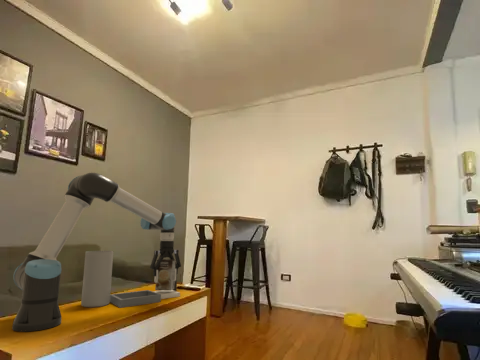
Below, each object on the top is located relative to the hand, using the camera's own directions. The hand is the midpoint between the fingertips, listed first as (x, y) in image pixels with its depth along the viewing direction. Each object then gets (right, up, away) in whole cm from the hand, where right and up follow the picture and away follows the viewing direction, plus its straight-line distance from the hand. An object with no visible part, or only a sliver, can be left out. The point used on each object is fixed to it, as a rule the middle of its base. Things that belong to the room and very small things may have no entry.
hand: (165, 281), depth 168 cm
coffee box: (0, -4, -1) cm, 4 cm away
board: (0, -8, -1) cm, 8 cm away
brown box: (-2, -11, +15) cm, 18 cm away
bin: (-11, -5, -16) cm, 20 cm away
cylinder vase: (-28, -4, -22) cm, 36 cm away
